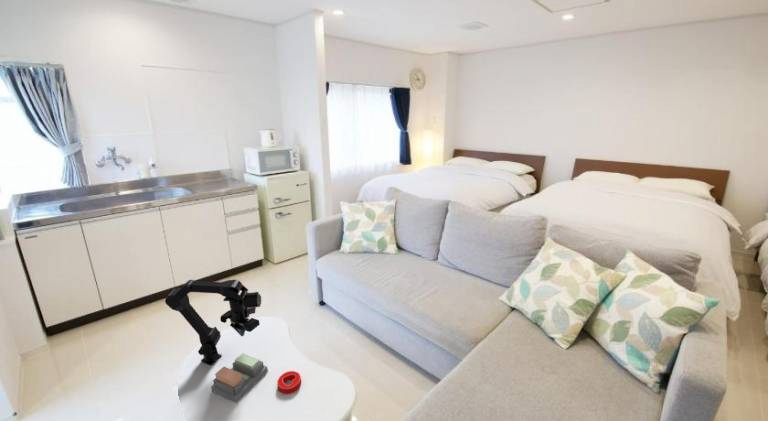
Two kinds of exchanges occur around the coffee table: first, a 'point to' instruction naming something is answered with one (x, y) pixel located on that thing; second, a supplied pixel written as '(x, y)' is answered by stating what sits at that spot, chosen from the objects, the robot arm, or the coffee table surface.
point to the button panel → (244, 386)
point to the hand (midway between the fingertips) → (242, 335)
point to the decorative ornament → (286, 377)
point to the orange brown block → (228, 377)
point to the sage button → (247, 361)
